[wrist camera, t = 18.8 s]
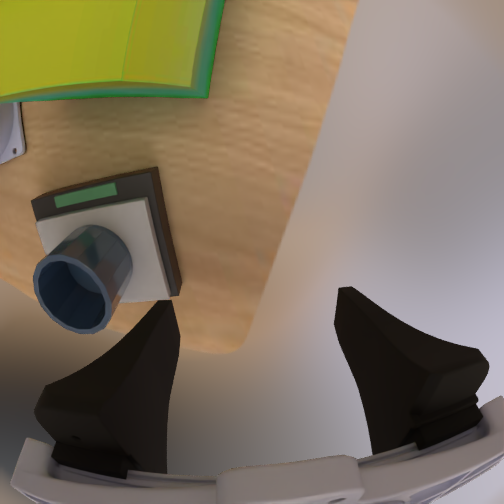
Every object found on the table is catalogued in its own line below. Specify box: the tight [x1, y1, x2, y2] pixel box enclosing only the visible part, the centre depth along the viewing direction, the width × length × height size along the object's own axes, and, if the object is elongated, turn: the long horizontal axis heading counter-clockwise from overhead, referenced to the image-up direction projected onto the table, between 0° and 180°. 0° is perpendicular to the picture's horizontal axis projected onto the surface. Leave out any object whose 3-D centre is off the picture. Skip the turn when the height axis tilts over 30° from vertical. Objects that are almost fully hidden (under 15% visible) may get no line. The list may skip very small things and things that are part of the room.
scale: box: [31, 167, 182, 303], centre depth 19 cm, size 10×9×3 cm
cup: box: [33, 224, 133, 334], centre depth 17 cm, size 5×5×4 cm
